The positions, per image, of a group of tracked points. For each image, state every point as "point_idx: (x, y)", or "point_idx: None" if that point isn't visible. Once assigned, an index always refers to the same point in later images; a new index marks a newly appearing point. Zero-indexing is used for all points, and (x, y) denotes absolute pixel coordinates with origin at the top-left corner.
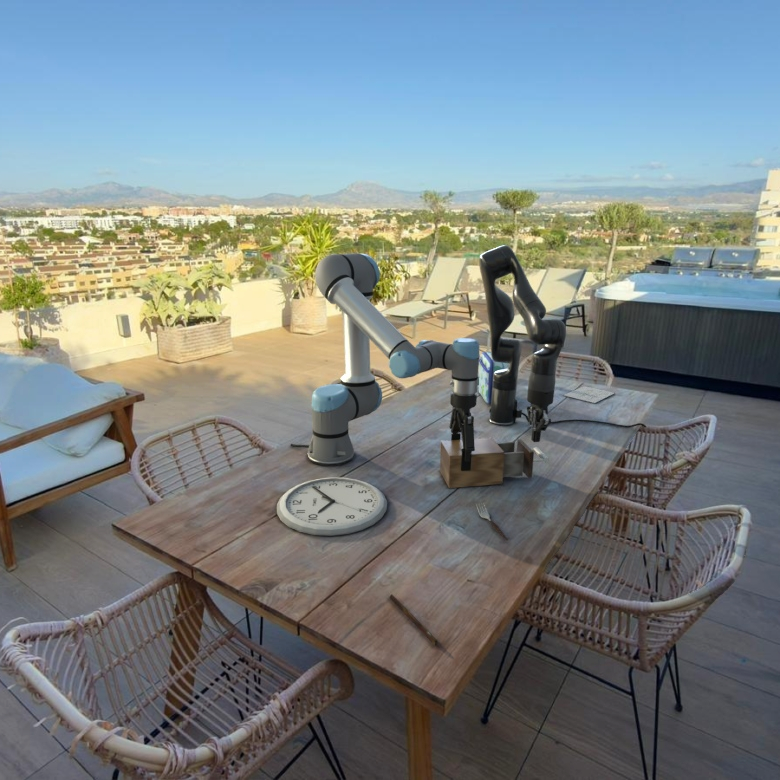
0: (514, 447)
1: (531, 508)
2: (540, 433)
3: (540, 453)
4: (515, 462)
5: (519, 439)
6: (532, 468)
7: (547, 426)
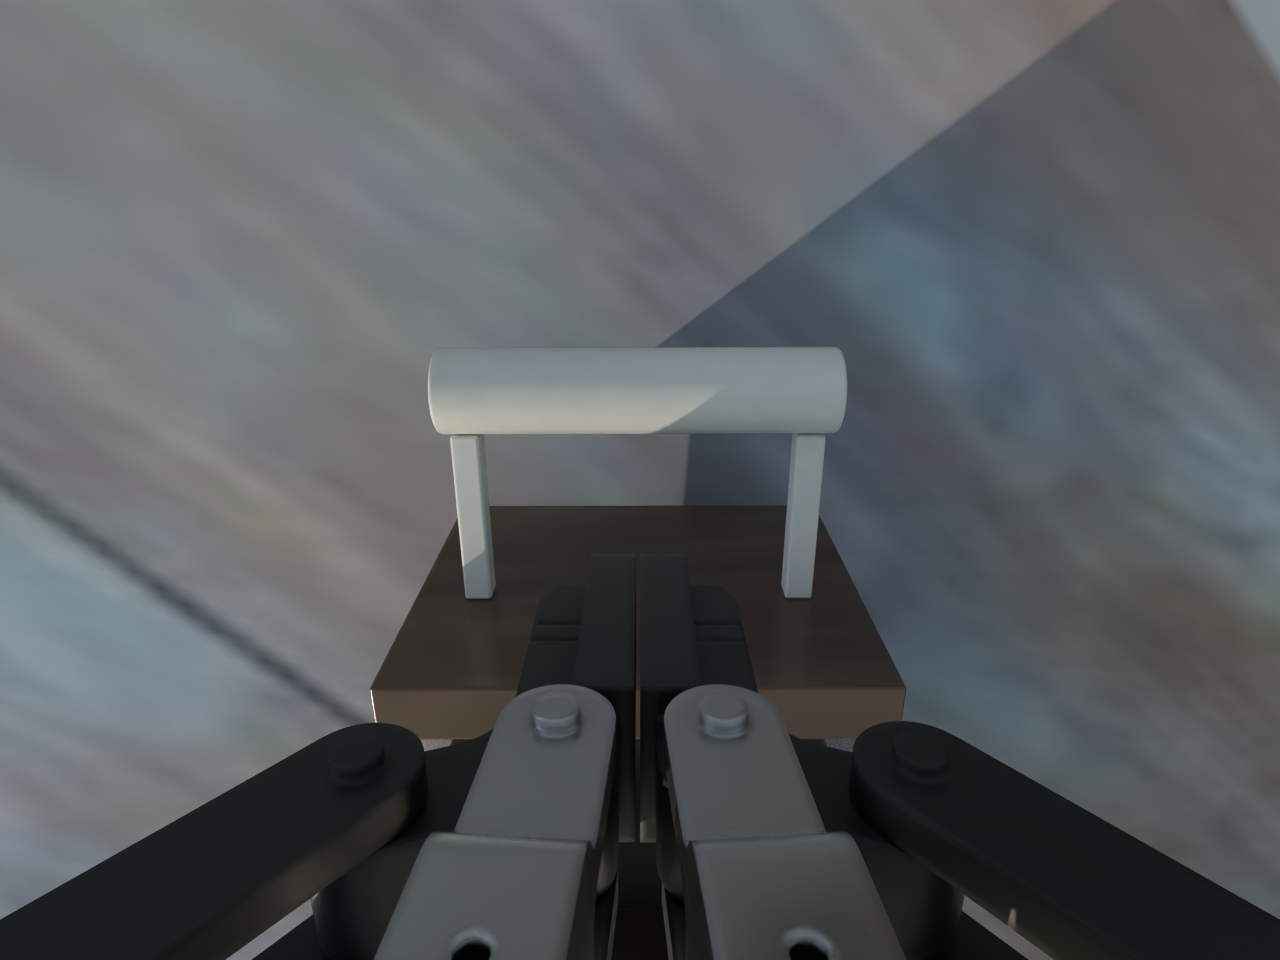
0: None
1: (1227, 653)
2: (753, 684)
3: (663, 424)
4: None
5: (382, 716)
6: (838, 556)
7: (1238, 914)
